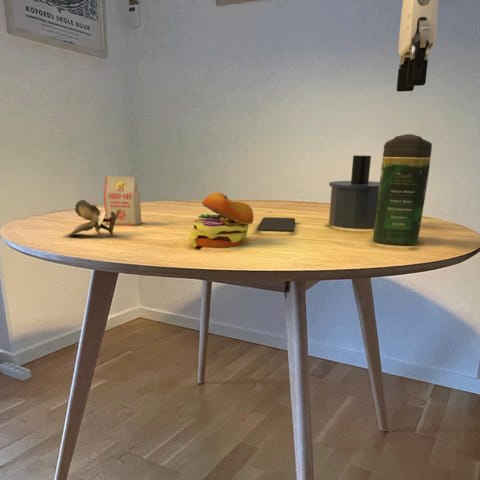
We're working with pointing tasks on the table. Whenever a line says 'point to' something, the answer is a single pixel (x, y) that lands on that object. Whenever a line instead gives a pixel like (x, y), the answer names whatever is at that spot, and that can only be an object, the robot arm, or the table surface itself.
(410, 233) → the coffee jar
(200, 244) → the cheeseburger
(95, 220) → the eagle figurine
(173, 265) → the table surface
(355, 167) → the lid
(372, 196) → the pot
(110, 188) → the paper takeout bag
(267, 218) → the phone
